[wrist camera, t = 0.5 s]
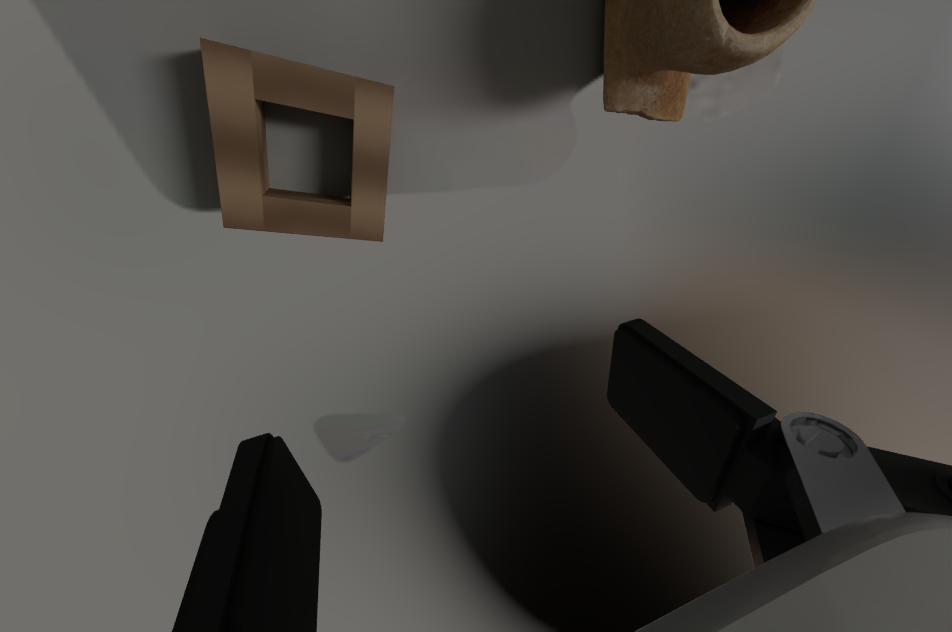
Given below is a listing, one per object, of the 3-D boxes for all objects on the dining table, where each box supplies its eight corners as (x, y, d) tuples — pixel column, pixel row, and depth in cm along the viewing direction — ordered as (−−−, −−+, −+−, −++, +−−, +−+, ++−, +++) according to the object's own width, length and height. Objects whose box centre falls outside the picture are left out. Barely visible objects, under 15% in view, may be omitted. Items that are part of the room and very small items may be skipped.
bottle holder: (215, 46, 25) (199, 37, 22) (388, 89, 29) (393, 86, 26) (234, 216, 30) (223, 227, 27) (379, 231, 35) (382, 241, 32)
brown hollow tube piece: (579, -75, 28) (764, -221, 16) (698, -76, 31) (935, -202, 19) (572, 134, 36) (692, 145, 24) (667, 119, 39) (819, 122, 27)
